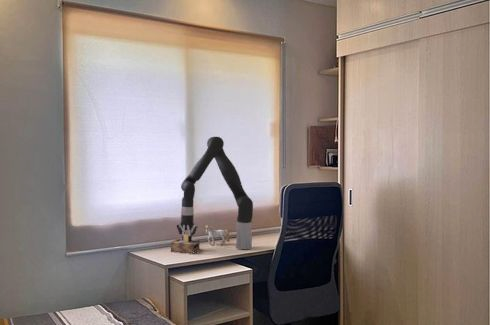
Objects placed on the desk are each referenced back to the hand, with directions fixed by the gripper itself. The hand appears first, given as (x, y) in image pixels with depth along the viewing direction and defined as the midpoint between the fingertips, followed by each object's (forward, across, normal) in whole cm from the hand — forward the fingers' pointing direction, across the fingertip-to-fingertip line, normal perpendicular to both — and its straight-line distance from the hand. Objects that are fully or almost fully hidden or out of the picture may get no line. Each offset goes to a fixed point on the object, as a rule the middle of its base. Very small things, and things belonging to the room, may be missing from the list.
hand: (186, 241), depth 305 cm
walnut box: (+6, +1, 0) cm, 6 cm away
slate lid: (+1, 0, 0) cm, 1 cm away
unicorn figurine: (+6, -13, -18) cm, 23 cm away
